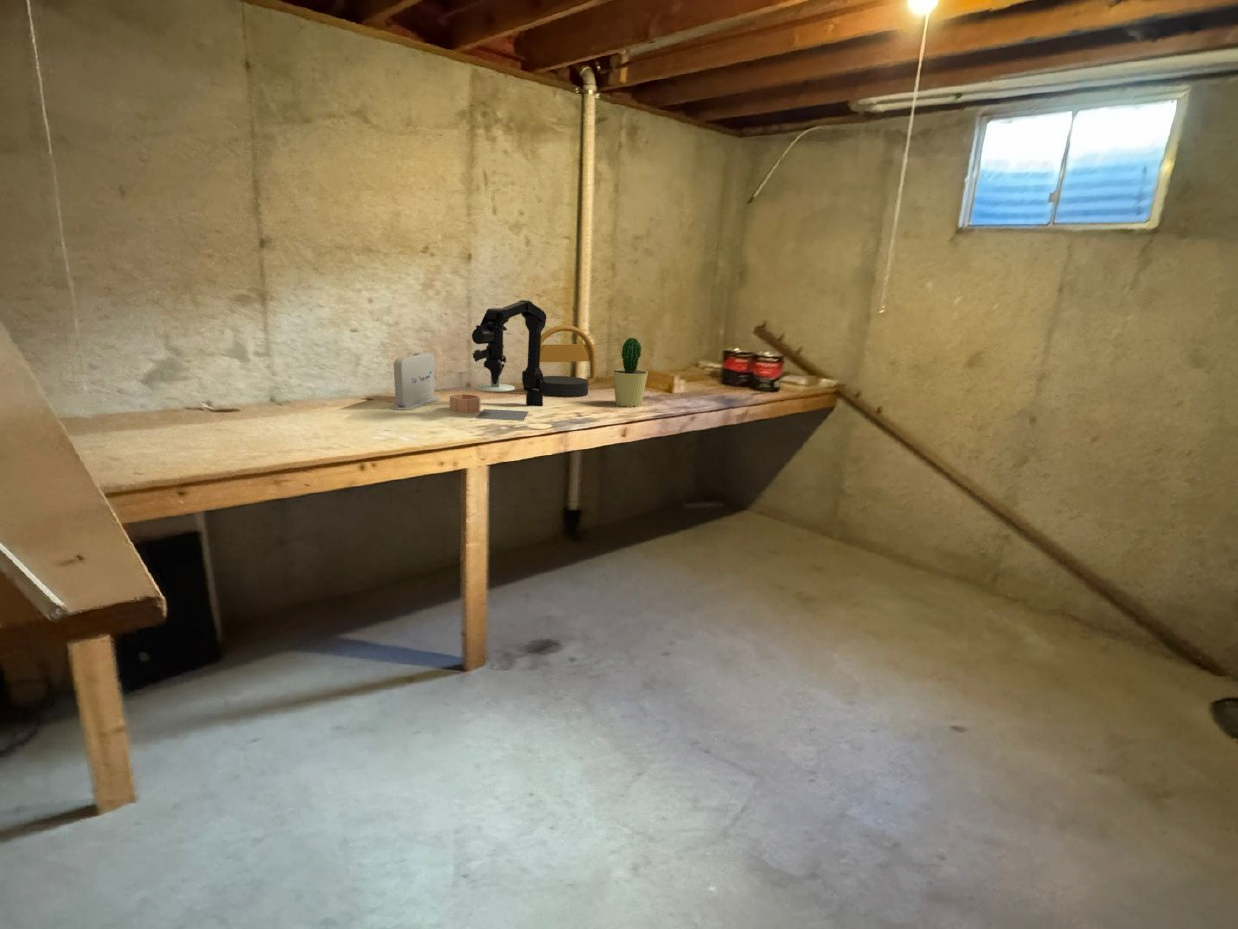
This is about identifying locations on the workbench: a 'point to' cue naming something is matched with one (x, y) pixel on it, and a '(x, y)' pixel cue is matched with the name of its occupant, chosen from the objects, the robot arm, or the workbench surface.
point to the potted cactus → (630, 376)
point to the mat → (502, 414)
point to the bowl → (465, 403)
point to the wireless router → (414, 381)
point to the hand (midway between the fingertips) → (495, 383)
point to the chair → (567, 353)
